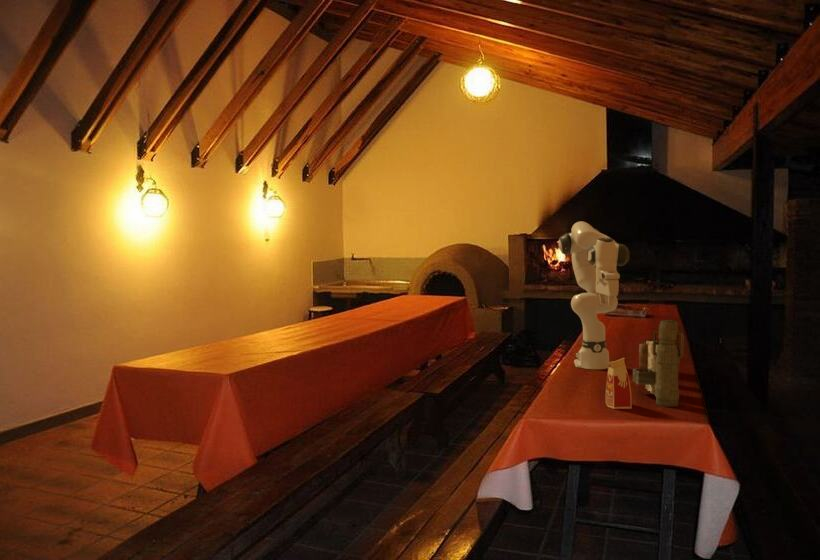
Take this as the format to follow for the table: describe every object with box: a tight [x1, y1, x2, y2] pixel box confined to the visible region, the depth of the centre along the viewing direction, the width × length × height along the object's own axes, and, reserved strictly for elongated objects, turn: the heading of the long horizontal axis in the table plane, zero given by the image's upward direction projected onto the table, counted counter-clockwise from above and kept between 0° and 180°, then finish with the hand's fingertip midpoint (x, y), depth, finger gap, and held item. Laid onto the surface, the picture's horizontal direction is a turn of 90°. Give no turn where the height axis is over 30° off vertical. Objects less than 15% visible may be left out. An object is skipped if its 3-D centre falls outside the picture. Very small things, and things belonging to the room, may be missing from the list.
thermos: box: [652, 318, 685, 408], centre depth 263 cm, size 9×12×35 cm
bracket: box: [632, 341, 658, 397], centre depth 280 cm, size 16×9×22 cm, turn 1°
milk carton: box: [605, 357, 633, 410], centre depth 263 cm, size 9×9×20 cm
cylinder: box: [638, 343, 648, 372], centre depth 280 cm, size 4×4×16 cm
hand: (606, 304), depth 288 cm, fingers open, 8 cm apart
